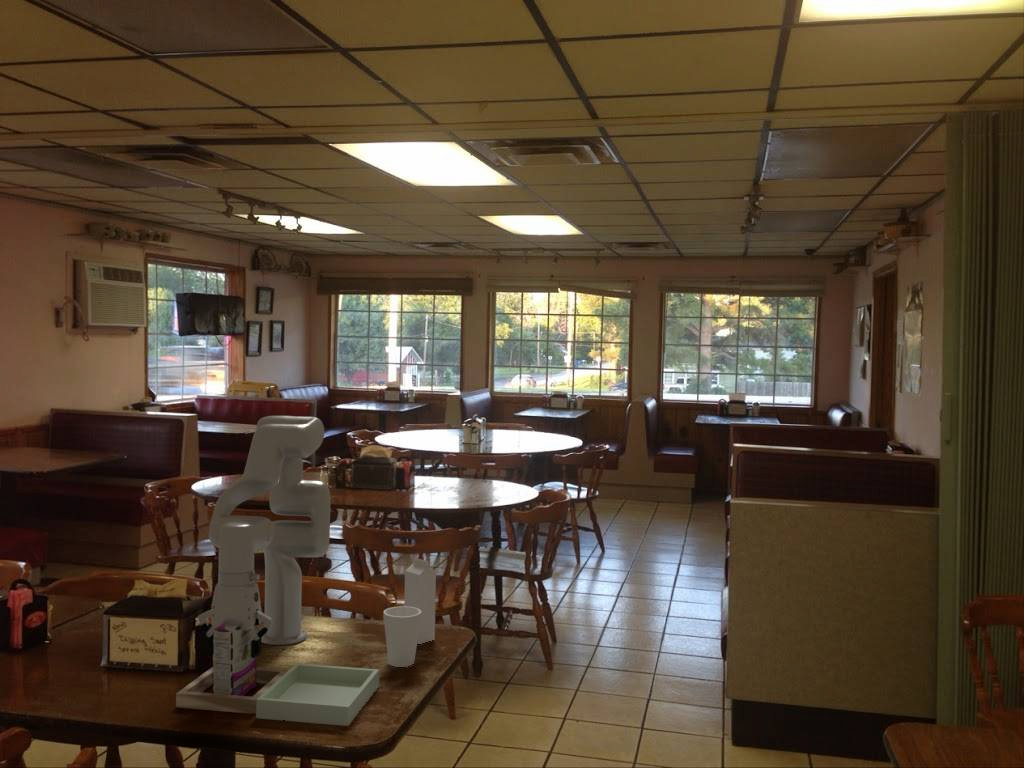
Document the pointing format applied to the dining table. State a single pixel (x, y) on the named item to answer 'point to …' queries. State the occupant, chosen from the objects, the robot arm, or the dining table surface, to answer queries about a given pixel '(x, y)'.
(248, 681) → the candy bar box
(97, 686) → the dining table surface
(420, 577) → the milk
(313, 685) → the green tray
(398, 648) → the foam cup
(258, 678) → the frame
